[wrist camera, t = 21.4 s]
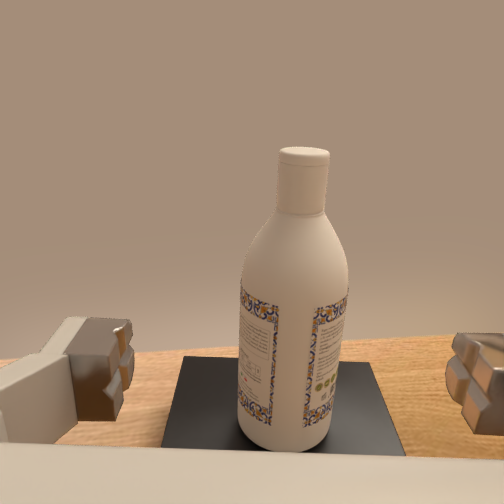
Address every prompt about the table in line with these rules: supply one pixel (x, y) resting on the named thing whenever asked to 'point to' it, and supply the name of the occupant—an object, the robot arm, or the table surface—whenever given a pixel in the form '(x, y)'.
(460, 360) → the robot arm
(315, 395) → the bath foam
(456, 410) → the table surface
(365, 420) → the platform
